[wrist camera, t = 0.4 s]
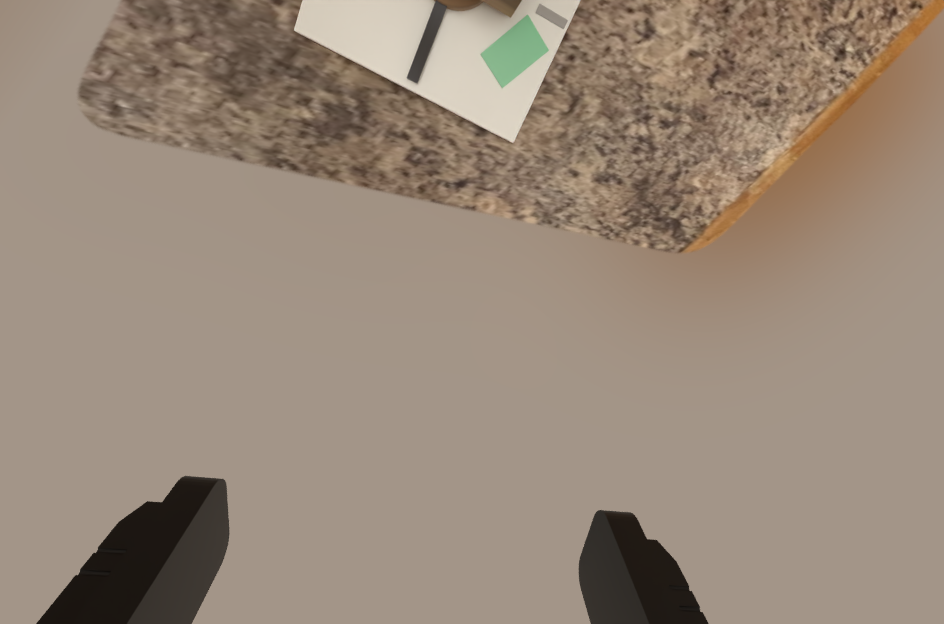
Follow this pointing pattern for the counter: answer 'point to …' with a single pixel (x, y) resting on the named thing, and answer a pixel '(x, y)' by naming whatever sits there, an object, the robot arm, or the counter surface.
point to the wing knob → (505, 3)
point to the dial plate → (449, 51)
